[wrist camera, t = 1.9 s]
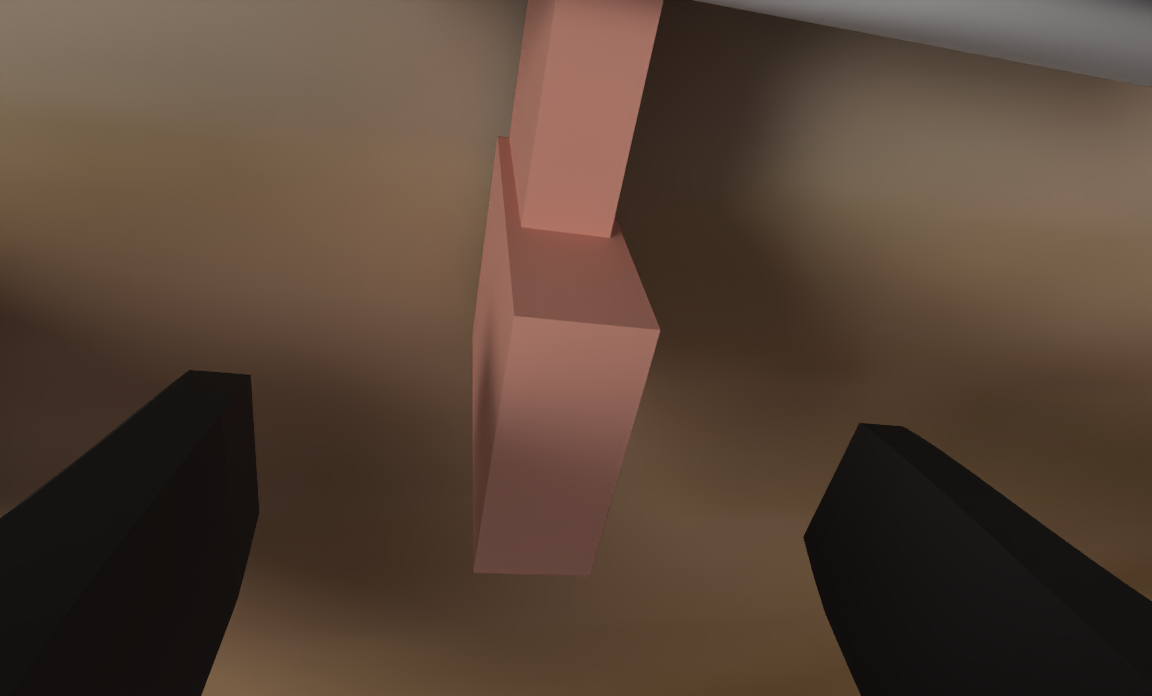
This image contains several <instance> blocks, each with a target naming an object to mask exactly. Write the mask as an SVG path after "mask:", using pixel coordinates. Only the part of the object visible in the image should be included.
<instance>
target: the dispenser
mask: <svg viewBox="0 0 1152 696" xmlns="http://www.w3.org/2000/svg"><path fill="white" fill-rule="evenodd" d="M694 1H700V2H705V3H710V4H715V5H721V6H726V7H731V8H736V9H742V10H747V11H752V12H757V13H762V14H768V15H773V16H778V17H783V18H789V19H794V20H799V21H804V22H810V23H815V24H820V25H825V26H831V27H836V28H841V29H846V30H852V31H857V32H862V33H867V34H873V35H878V36H883V37H888V38H894V39H899V40H904V41H909V42H915V43H920V44H925V45H930V46H936V47H941V48H946V49H951V50H957V51H962V52H967V53H972V54H978V55H983V56H988V57H993V58H999V59H1004V60H1009V61H1014V62H1020V63H1025V64H1030V65H1035V66H1041V67H1046V68H1051V69H1056V70H1062V71H1067V72H1072V73H1077V74H1083V75H1088V76H1093V77H1098V78H1104V79H1109V80H1114V81H1119V82H1124V83H1130V84H1135V85H1140V86H1146V87H1152V0H694Z"/></svg>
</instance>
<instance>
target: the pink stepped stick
mask: <svg viewBox="0 0 1152 696" xmlns="http://www.w3.org/2000/svg"><path fill="white" fill-rule="evenodd" d="M662 5H663V0H528V3H527V11H526V18H525V25H524V33H523V40H522V47H521V55H520V62H519V70H518V77H517V84H516V92H515V99H514V106H513V114H512V121H511V128H510V136H509V138H506V137H499V136H498V137H497V145H496V153H495V161H494V168H493V176H492V184H491V192H490V200H489V208H488V216H487V223H486V231H485V239H484V247H483V255H482V263H481V271H480V278H479V286H478V294H477V302H476V310H475V318H474V325H473V573H491V574H527V575H562V576H590V575H591V572H592V568H593V565H594V561H595V558H596V554H597V551H598V547H599V544H600V540H601V537H602V533H603V530H604V526H605V523H606V519H607V516H608V512H609V509H610V505H611V502H612V498H613V495H614V491H615V488H616V484H617V481H618V477H619V474H620V470H621V467H622V463H623V460H624V456H625V453H626V449H627V446H628V442H629V439H630V435H631V432H632V428H633V425H634V421H635V418H636V414H637V411H638V407H639V404H640V400H641V397H642V393H643V390H644V386H645V383H646V379H647V376H648V372H649V369H650V365H651V362H652V358H653V355H654V351H655V348H656V344H657V341H658V337H659V334H660V328H659V325H658V323H657V320H656V318H655V315H654V313H653V310H652V308H651V305H650V303H649V300H648V298H647V295H646V293H645V290H644V288H643V285H642V283H641V280H640V278H639V275H638V273H637V270H636V268H635V265H634V263H633V260H632V258H631V255H630V253H629V250H628V247H627V245H626V242H625V240H624V237H623V235H622V232H621V230H620V227H619V225H618V222H617V220H616V217H615V213H616V209H617V204H618V200H619V195H620V191H621V187H622V182H623V178H624V173H625V169H626V164H627V160H628V156H629V151H630V147H631V142H632V138H633V133H634V129H635V124H636V120H637V116H638V111H639V107H640V102H641V98H642V93H643V89H644V85H645V80H646V76H647V71H648V67H649V62H650V58H651V53H652V49H653V45H654V40H655V36H656V31H657V27H658V22H659V18H660V14H661V9H662Z"/></svg>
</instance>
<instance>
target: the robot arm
mask: <svg viewBox="0 0 1152 696" xmlns="http://www.w3.org/2000/svg"><path fill="white" fill-rule="evenodd" d="M258 515H259V503H258V487H257V471H256V455H255V439H254V423H253V407H252V391H251V375H245V374H232V373H220V372H207V371H194V370H189V371H188V372H186V373H185V374H184V375H182V376H181V377H180V378H178V379H177V380H176V381H174V382H173V383H172V384H171V385H169V386H168V387H167V388H165V389H164V390H163V391H162V392H160V393H159V394H158V395H157V396H155V397H154V398H153V399H152V400H151V401H149V402H148V403H147V404H146V405H144V406H143V407H142V408H141V409H139V410H138V411H137V412H136V413H135V414H133V415H132V416H131V417H130V418H128V419H127V420H126V421H125V422H123V423H122V424H121V425H120V426H119V427H117V428H116V429H115V430H114V431H112V432H111V433H110V434H109V435H107V436H106V437H105V438H104V439H102V440H101V441H100V442H99V443H97V444H96V445H95V446H94V447H92V448H91V449H90V450H89V451H87V452H86V453H85V454H84V455H82V456H81V457H80V458H78V459H77V460H76V461H75V462H73V463H72V464H71V465H69V466H68V467H67V468H65V469H64V470H63V471H62V472H60V473H59V474H58V475H56V476H55V477H54V478H52V479H51V480H50V481H49V482H47V483H46V484H45V485H43V486H42V487H41V488H39V489H38V490H37V491H36V492H34V493H33V494H32V495H30V496H29V497H28V498H27V499H25V500H24V501H23V502H21V503H20V504H19V505H17V506H16V507H15V508H13V509H12V510H11V511H9V512H8V513H7V514H5V515H4V516H3V517H1V518H0V696H201V694H202V692H203V689H204V687H205V684H206V681H207V679H208V676H209V674H210V671H211V668H212V666H213V663H214V660H215V658H216V655H217V652H218V650H219V647H220V644H221V642H222V639H223V636H224V634H225V631H226V628H227V626H228V623H229V620H230V618H231V615H232V612H233V610H234V607H235V604H236V601H237V599H238V595H239V591H240V588H241V584H242V580H243V576H244V572H245V568H246V564H247V560H248V556H249V552H250V548H251V544H252V540H253V536H254V531H255V527H256V523H257V519H258ZM803 538H804V541H805V545H806V549H807V553H808V556H809V560H810V564H811V568H812V571H813V575H814V579H815V582H816V585H817V588H818V592H819V595H820V598H821V601H822V604H823V608H824V611H825V614H826V616H827V618H828V621H829V623H830V626H831V628H832V630H833V633H834V635H835V637H836V640H837V642H838V644H839V647H840V649H841V651H842V653H843V656H844V658H845V660H846V663H847V665H848V667H849V670H850V672H851V674H852V676H853V679H854V681H855V683H856V685H857V688H858V690H859V692H860V694H861V696H1152V601H1150V600H1149V599H1147V598H1146V597H1144V596H1143V595H1141V594H1140V593H1138V592H1137V591H1136V590H1134V589H1133V588H1131V587H1130V586H1128V585H1127V584H1125V583H1124V582H1122V581H1121V580H1120V579H1118V578H1117V577H1115V576H1114V575H1112V574H1111V573H1110V572H1108V571H1107V570H1105V569H1104V568H1102V567H1101V566H1100V565H1098V564H1097V563H1095V562H1094V561H1093V560H1091V559H1090V558H1088V557H1087V556H1086V555H1084V554H1083V553H1081V552H1080V551H1079V550H1077V549H1076V548H1074V547H1073V546H1072V545H1070V544H1069V543H1067V542H1066V541H1065V540H1063V539H1062V538H1061V537H1059V536H1058V535H1057V534H1055V533H1054V532H1052V531H1051V530H1050V529H1048V528H1047V527H1046V526H1044V525H1043V524H1041V523H1040V522H1039V521H1037V520H1036V519H1035V518H1033V517H1032V516H1031V515H1029V514H1028V513H1026V512H1025V511H1024V510H1022V509H1021V508H1020V507H1018V506H1017V505H1016V504H1014V503H1013V502H1011V501H1010V500H1009V499H1007V498H1006V497H1005V496H1003V495H1002V494H1001V493H999V492H998V491H996V490H995V489H994V488H992V487H991V486H990V485H988V484H987V483H986V482H984V481H983V480H981V479H980V478H979V477H977V476H976V475H975V474H973V473H972V472H970V471H969V470H968V469H966V468H965V467H963V466H962V465H961V464H959V463H958V462H956V461H955V460H954V459H952V458H951V457H949V456H948V455H947V454H945V453H944V452H942V451H941V450H939V449H938V448H936V447H935V446H933V445H932V444H930V443H929V442H927V441H926V440H924V439H923V438H921V437H920V436H918V435H916V434H915V433H913V432H911V431H910V430H908V429H907V428H905V427H903V426H891V425H878V424H865V423H859V425H858V427H857V429H856V431H855V433H854V435H853V437H852V439H851V441H850V443H849V445H848V447H847V449H846V451H845V454H844V456H843V458H842V460H841V462H840V464H839V466H838V468H837V470H836V472H835V474H834V476H833V478H832V480H831V482H830V484H829V486H828V488H827V490H826V492H825V494H824V496H823V498H822V500H821V502H820V504H819V506H818V508H817V510H816V512H815V514H814V516H813V518H812V521H811V523H810V525H809V527H808V529H807V531H806V533H805V535H804V537H803Z"/></svg>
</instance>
